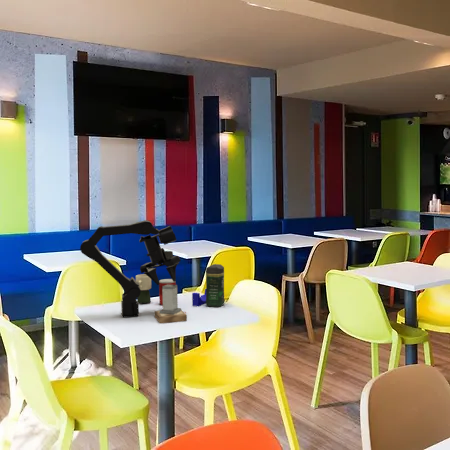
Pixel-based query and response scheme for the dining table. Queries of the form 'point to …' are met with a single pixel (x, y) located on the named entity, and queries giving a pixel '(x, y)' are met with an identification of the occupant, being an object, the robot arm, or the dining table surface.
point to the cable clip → (198, 299)
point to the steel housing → (170, 300)
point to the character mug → (144, 288)
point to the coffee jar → (215, 285)
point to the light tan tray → (170, 317)
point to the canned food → (163, 283)
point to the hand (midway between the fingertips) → (166, 283)
